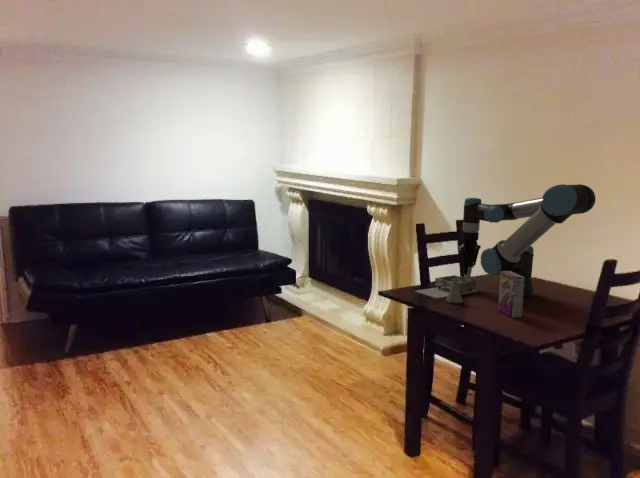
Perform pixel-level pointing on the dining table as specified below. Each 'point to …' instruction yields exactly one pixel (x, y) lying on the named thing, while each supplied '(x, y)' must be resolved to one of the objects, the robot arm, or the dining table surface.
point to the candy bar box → (511, 294)
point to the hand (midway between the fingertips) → (466, 280)
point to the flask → (454, 292)
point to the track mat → (441, 292)
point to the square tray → (447, 282)
